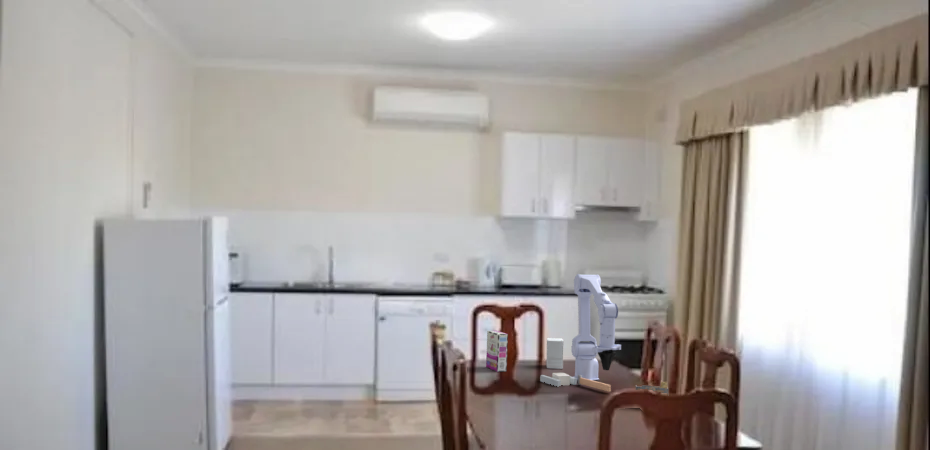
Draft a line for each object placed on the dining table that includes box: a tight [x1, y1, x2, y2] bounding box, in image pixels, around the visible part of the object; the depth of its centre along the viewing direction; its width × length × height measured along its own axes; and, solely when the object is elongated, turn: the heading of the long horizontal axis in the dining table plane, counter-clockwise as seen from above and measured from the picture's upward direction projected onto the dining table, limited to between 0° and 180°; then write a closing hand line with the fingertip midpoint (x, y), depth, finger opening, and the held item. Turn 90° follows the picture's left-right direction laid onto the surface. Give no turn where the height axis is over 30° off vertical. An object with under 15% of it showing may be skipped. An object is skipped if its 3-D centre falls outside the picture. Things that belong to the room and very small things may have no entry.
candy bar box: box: [485, 330, 509, 373], centre depth 327 cm, size 11×5×16 cm, turn 25°
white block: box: [551, 372, 571, 386], centre depth 303 cm, size 5×6×4 cm
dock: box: [539, 374, 578, 388], centre depth 304 cm, size 10×11×2 cm
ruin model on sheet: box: [635, 380, 669, 395], centre depth 270 cm, size 11×3×10 cm, turn 80°
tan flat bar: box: [577, 375, 612, 392], centre depth 295 cm, size 17×1×4 cm, turn 37°
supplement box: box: [545, 337, 565, 370], centre depth 336 cm, size 7×7×13 cm
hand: (606, 369), depth 288 cm, fingers closed
